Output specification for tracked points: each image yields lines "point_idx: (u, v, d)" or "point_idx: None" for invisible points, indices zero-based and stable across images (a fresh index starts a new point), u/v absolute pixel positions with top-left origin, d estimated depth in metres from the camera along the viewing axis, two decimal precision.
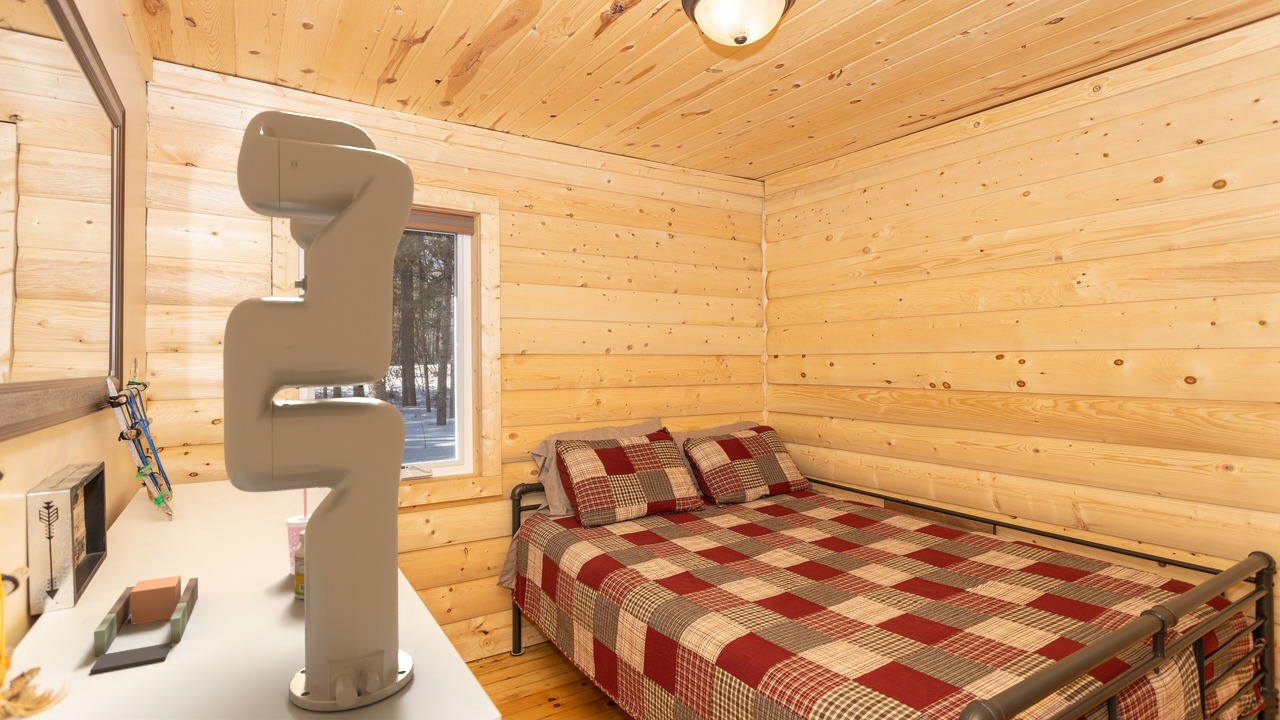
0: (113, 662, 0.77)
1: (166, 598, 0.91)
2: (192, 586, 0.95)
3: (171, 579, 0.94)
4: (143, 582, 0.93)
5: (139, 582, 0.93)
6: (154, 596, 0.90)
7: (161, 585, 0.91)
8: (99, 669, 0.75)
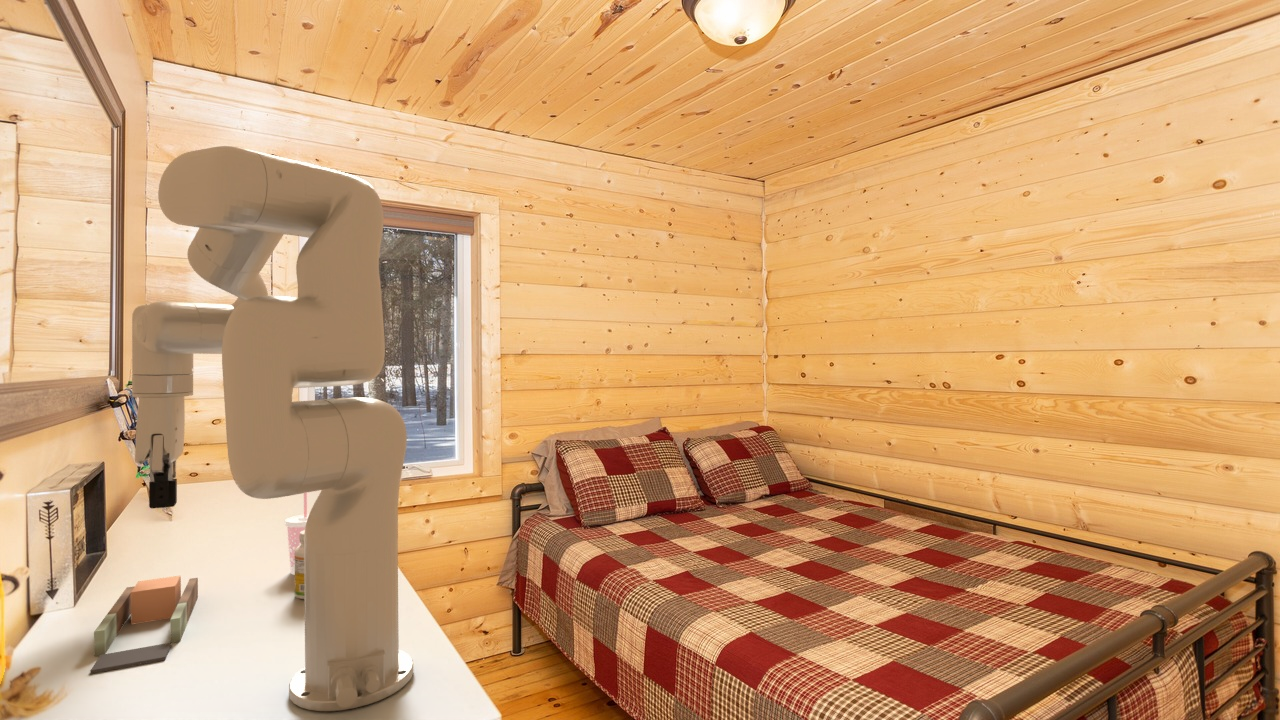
0: (113, 662, 0.77)
1: (166, 598, 0.91)
2: (192, 586, 0.95)
3: (171, 579, 0.94)
4: (143, 582, 0.93)
5: (139, 582, 0.93)
6: (154, 596, 0.90)
7: (161, 585, 0.91)
8: (99, 669, 0.75)
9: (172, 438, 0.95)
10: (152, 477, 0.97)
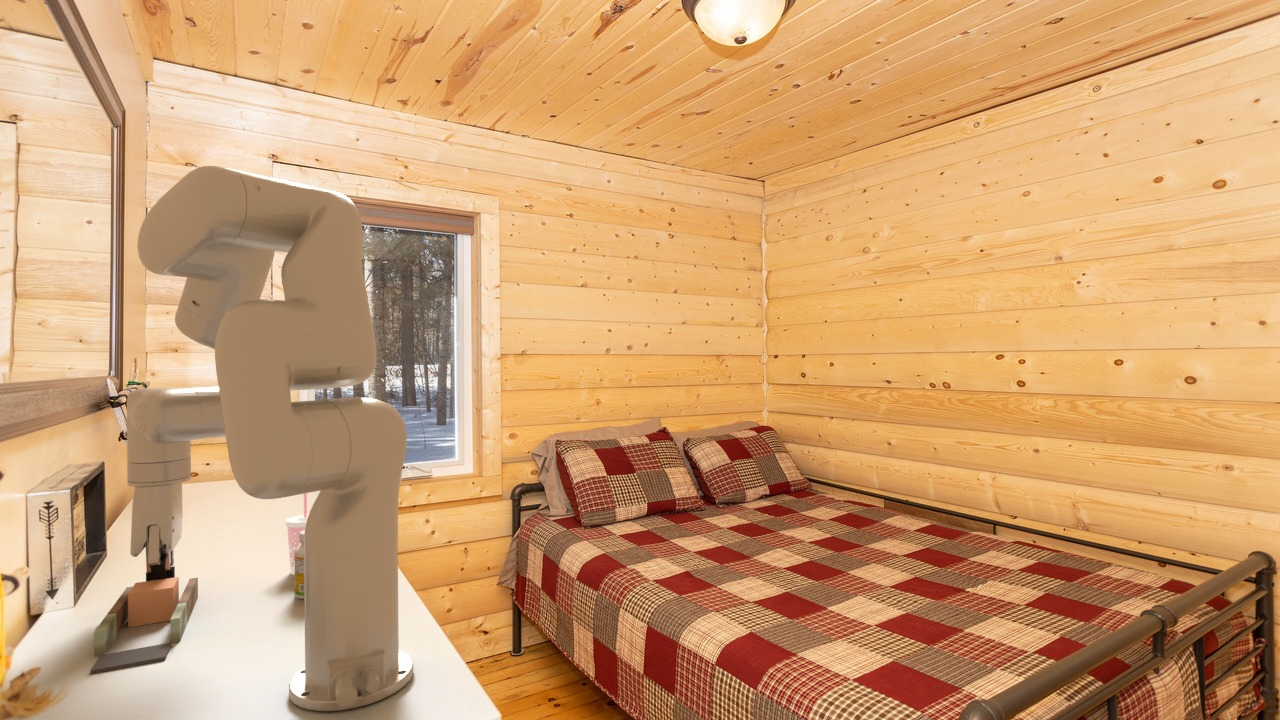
0: (113, 662, 0.77)
1: (164, 600, 0.90)
2: (192, 586, 0.95)
3: (169, 580, 0.93)
4: (140, 584, 0.92)
5: (136, 584, 0.92)
6: (152, 598, 0.89)
7: (159, 586, 0.90)
8: (99, 669, 0.75)
9: (169, 528, 0.92)
10: (149, 568, 0.93)
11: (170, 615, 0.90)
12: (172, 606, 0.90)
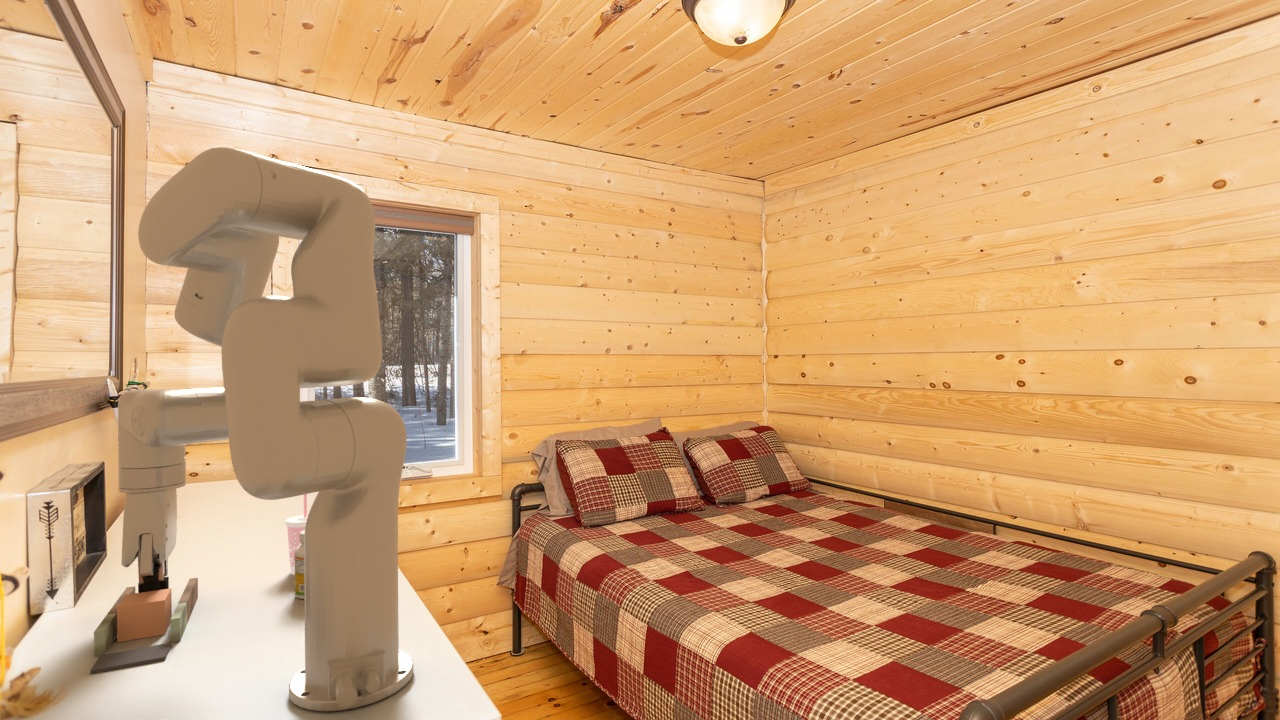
0: (113, 662, 0.77)
1: (155, 614, 0.85)
2: (192, 586, 0.95)
3: (161, 592, 0.88)
4: (131, 596, 0.87)
5: (127, 596, 0.87)
6: (142, 611, 0.84)
7: (150, 599, 0.86)
8: (99, 669, 0.75)
9: (162, 537, 0.87)
10: (141, 579, 0.89)
11: (161, 629, 0.85)
12: (164, 620, 0.85)
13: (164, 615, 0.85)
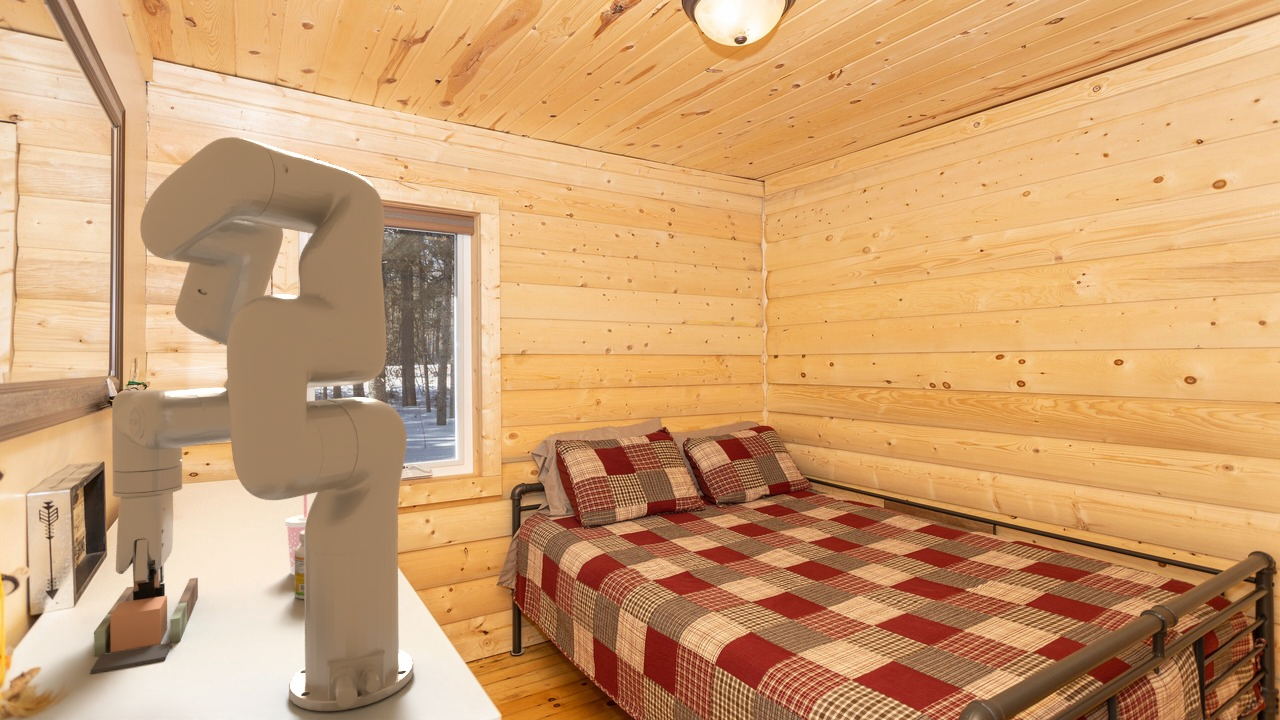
0: (113, 662, 0.77)
1: (150, 622, 0.82)
2: (192, 586, 0.95)
3: (156, 600, 0.85)
4: (125, 604, 0.84)
5: (121, 604, 0.84)
6: (137, 620, 0.81)
7: (145, 607, 0.83)
8: (99, 669, 0.75)
9: (158, 542, 0.84)
10: (136, 586, 0.86)
11: (157, 639, 0.82)
12: (159, 629, 0.82)
13: (159, 624, 0.83)
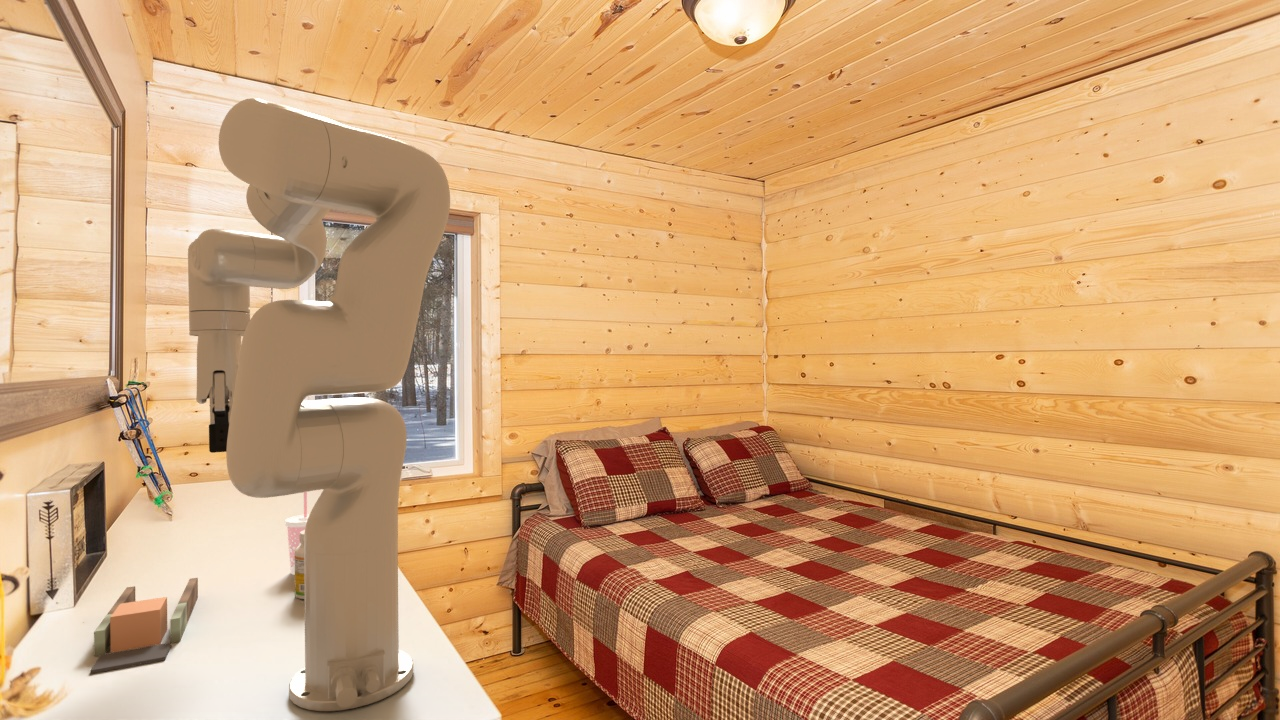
0: (113, 662, 0.77)
1: (150, 624, 0.82)
2: (192, 586, 0.95)
3: (156, 601, 0.85)
4: (125, 605, 0.84)
5: (121, 605, 0.84)
6: (137, 621, 0.81)
7: (145, 608, 0.83)
8: (99, 669, 0.75)
9: (234, 375, 0.91)
10: (212, 419, 0.92)
11: (157, 640, 0.82)
12: (159, 630, 0.82)
13: (159, 625, 0.83)
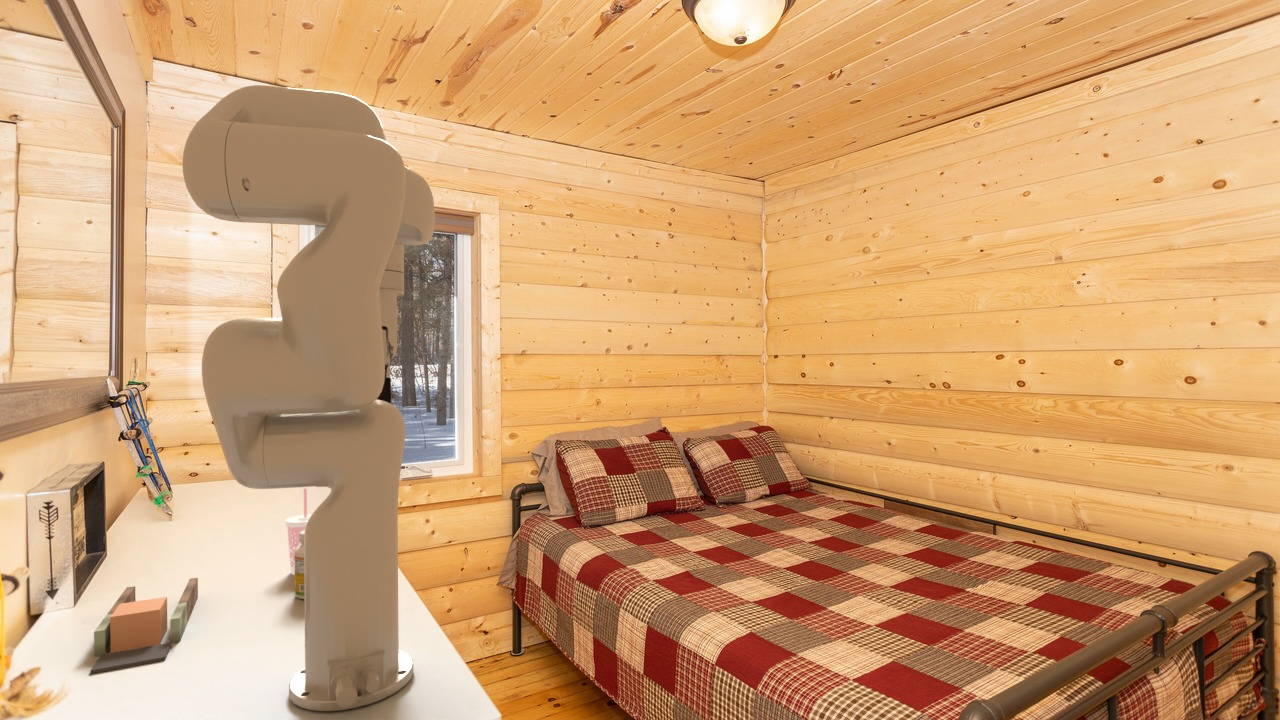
0: (113, 662, 0.77)
1: (150, 624, 0.82)
2: (192, 586, 0.95)
3: (156, 601, 0.85)
4: (125, 605, 0.84)
5: (121, 605, 0.84)
6: (137, 621, 0.81)
7: (145, 608, 0.83)
8: (99, 669, 0.75)
9: (395, 332, 0.96)
10: None
11: (157, 640, 0.82)
12: (159, 630, 0.82)
13: (159, 625, 0.83)
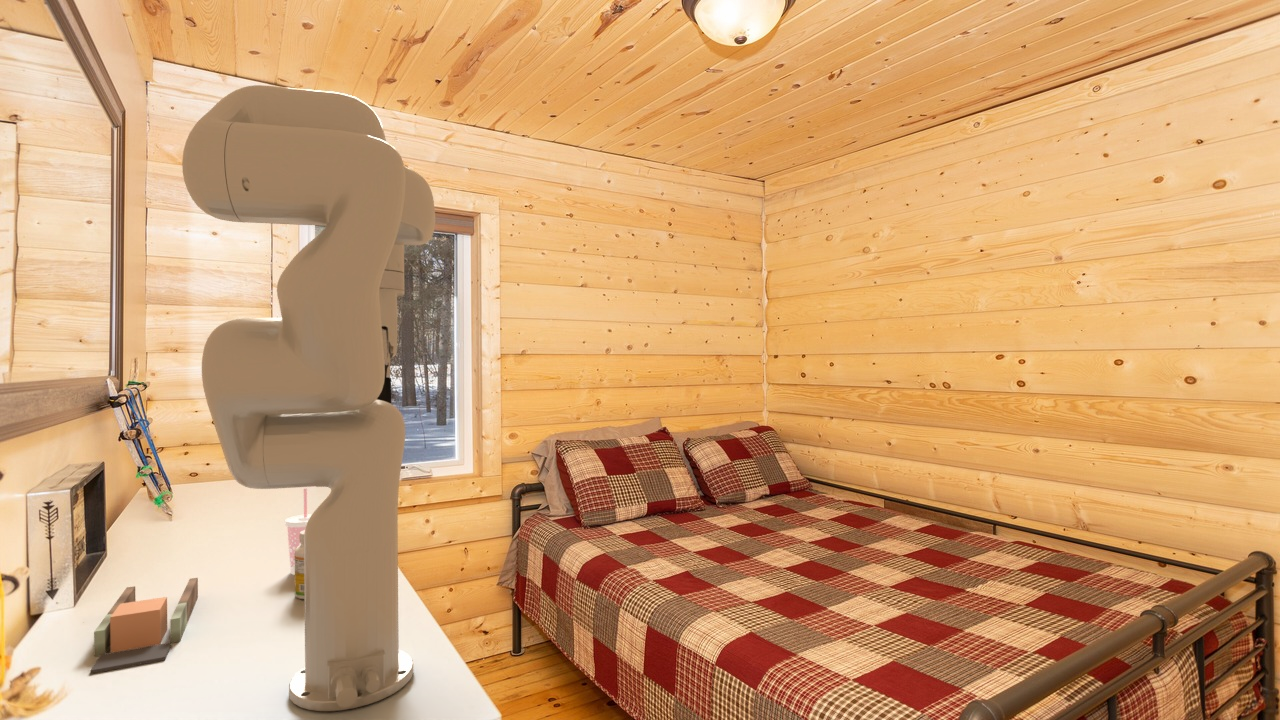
0: (113, 662, 0.77)
1: (150, 624, 0.82)
2: (192, 586, 0.95)
3: (156, 601, 0.85)
4: (125, 605, 0.84)
5: (121, 605, 0.84)
6: (137, 621, 0.81)
7: (145, 608, 0.83)
8: (99, 669, 0.75)
9: (395, 332, 0.96)
10: None
11: (157, 640, 0.82)
12: (159, 630, 0.82)
13: (159, 625, 0.83)
